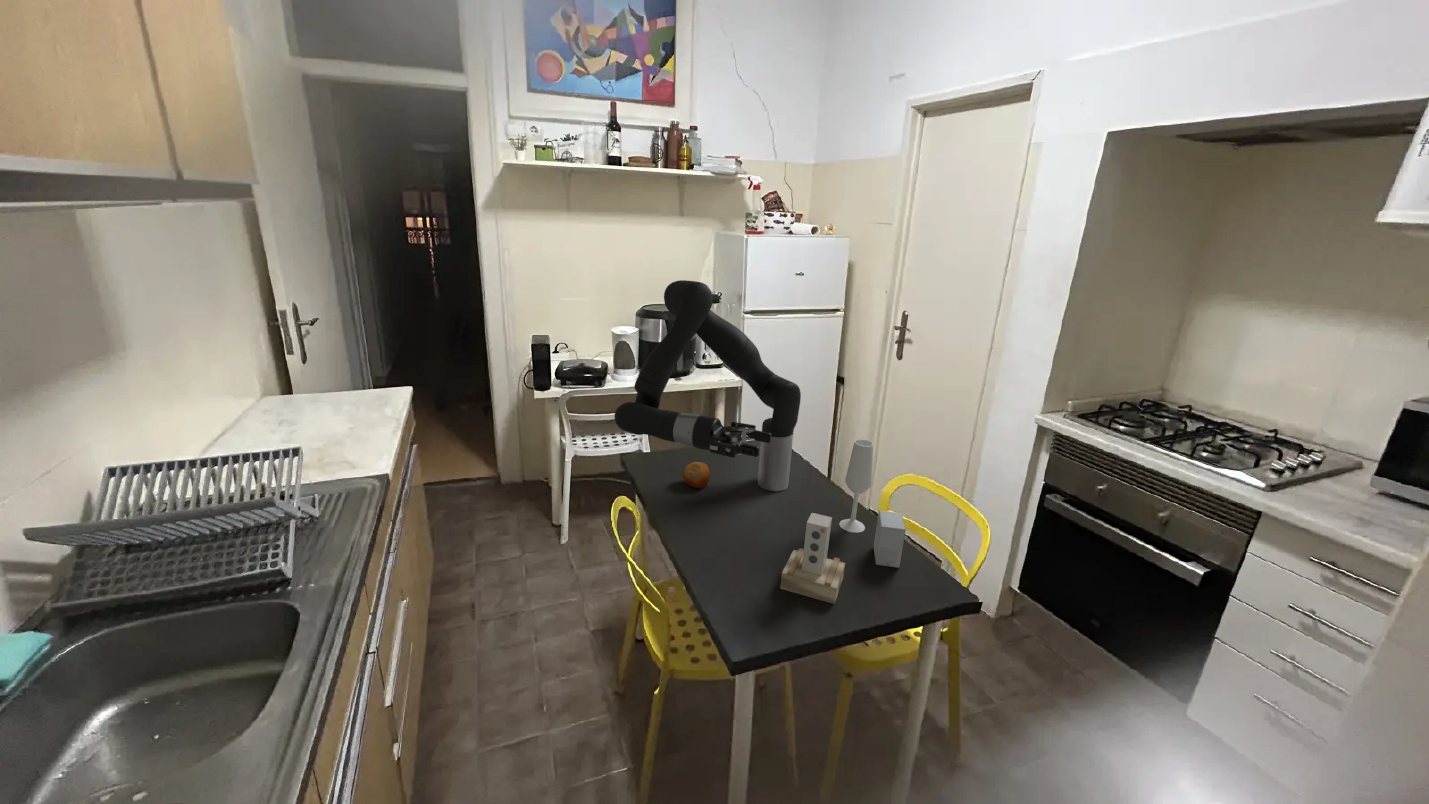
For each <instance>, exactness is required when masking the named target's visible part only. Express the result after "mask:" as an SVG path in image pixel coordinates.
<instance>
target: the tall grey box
mask: <svg viewBox="0 0 1429 804" xmlns="http://www.w3.org/2000/svg"><path fill="white" fill-rule="evenodd" d="M832 519H833V517H831V516H827V515H824V514H819V513H815V512H814V513H813V512H811V513H810V516H809V517H808V519H807V521H806V527H805V535H804V536H805V537H804V543H803V549H804V552H803V561H802V570H803V571H807V572H811V573H814V574H818V575H822V573H823V571H824V568H825V566H826V560H827V558H828V550H829V545H830V536H831V528H832V522H833V520H832Z"/></svg>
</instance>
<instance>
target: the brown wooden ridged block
mask: <svg viewBox="0 0 1429 804" xmlns="http://www.w3.org/2000/svg"><path fill="white" fill-rule="evenodd" d="M803 552H804V548H800V547H799V548H798V550H796V549H793V551H792V552H791V554H790V556H789V558H788V560H787V562H786V564H785V566H784V568H783V569H782V572H781V577H780V589H781V590H783V591H784V590H785V591H787V592H791V593H794V594H797V595H798V594H799V595H800V596H801V595H802V596H805V597H809V598H812V599H816V600H817V601H818V600H819V601H822V602H826V603H829V604H832V605H835V604H836V602H837V598H838V595H839V592H840V589H841V586H842V583H843V580H844V576H845V575H844V574H845V566H846V562H842V561H841V558H840V557H836V556H834V558H833V559H831V558H828V557H827V560H826V566H825V568H824V571H823V573H822V575H818V574H814V573H811V572H807V571H803V570H802V561H803Z"/></svg>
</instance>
